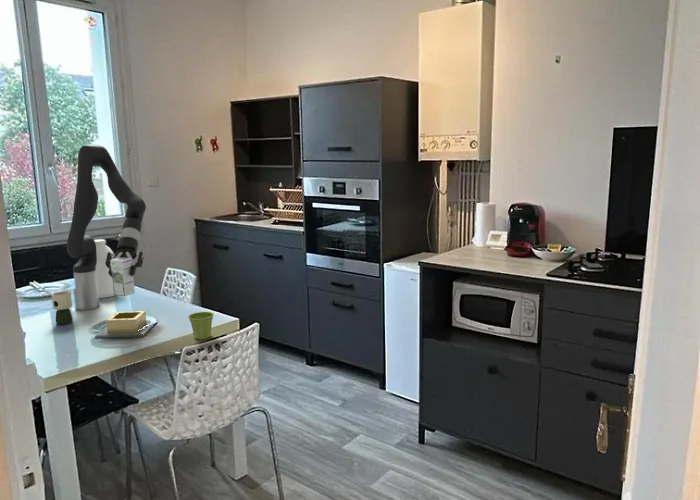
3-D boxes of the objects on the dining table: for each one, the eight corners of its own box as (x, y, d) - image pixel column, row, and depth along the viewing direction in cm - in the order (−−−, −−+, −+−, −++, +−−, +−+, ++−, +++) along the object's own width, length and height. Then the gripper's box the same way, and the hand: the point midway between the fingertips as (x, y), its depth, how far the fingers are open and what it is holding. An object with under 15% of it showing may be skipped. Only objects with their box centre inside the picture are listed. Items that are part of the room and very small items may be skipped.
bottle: (103, 290, 279) (98, 237, 274) (124, 292, 274) (119, 238, 270) (81, 297, 266) (75, 241, 261) (103, 299, 261) (98, 243, 256)
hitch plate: (95, 338, 205) (94, 323, 204) (113, 323, 222) (111, 309, 221) (143, 336, 206) (142, 321, 205) (157, 322, 223) (156, 308, 222)
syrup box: (135, 293, 213) (132, 257, 211) (124, 296, 208) (121, 260, 205) (124, 292, 215) (120, 256, 213) (113, 295, 210) (109, 259, 207)
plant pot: (191, 342, 198) (189, 320, 196) (188, 335, 206) (186, 313, 205) (217, 339, 202) (215, 316, 200) (212, 331, 210) (211, 310, 209)
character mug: (51, 322, 226) (47, 292, 223) (69, 318, 230) (66, 289, 228) (59, 328, 218) (55, 297, 215) (77, 324, 223) (74, 293, 220)
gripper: (107, 236, 215) (99, 270, 205) (144, 235, 215) (137, 269, 206) (114, 247, 221) (105, 281, 211) (149, 246, 222) (142, 280, 212)
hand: (121, 275), depth 209 cm, fingers closed on syrup box, 7 cm apart
